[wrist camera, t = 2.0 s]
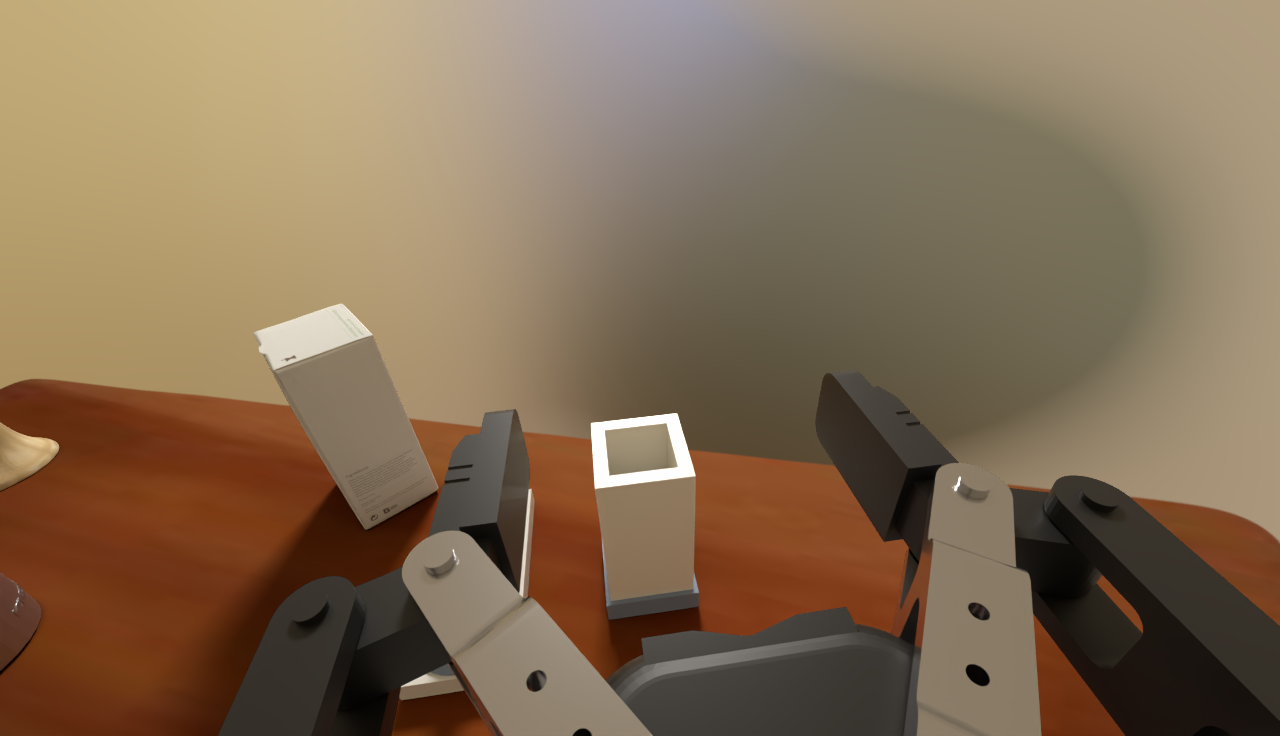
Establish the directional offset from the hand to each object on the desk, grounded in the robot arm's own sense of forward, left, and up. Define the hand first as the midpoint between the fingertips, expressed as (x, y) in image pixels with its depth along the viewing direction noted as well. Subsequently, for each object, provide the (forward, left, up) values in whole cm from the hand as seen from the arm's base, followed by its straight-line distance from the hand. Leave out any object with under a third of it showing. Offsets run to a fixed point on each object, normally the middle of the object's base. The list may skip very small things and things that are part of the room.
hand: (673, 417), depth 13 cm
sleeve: (+8, +8, -23) cm, 26 cm away
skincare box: (+2, +32, -24) cm, 40 cm away
